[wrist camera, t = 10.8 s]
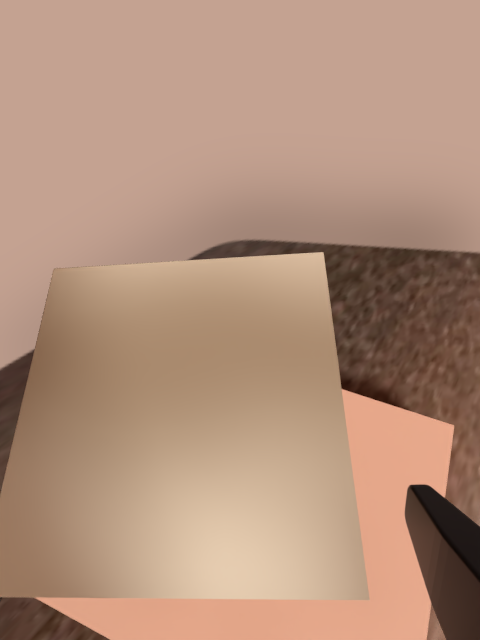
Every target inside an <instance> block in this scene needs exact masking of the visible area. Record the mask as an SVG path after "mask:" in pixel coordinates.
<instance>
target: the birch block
mask: <svg viewBox="0 0 480 640" xmlns="http://www.w3.org/2000/svg"><path fill="white" fill-rule="evenodd" d="M0 597H44V598H158V599H273V600H370V599H369V591H368V584H367V576H366V569H365V561H364V554H363V546H362V539H361V531H360V524H359V516H358V509H357V501H356V494H355V486H354V479H353V471H352V464H351V456H350V449H349V441H348V434H347V426H346V419H345V411H344V404H343V396H342V389H341V381H340V374H339V366H338V359H337V351H336V344H335V336H334V329H333V321H332V314H331V306H330V299H329V291H328V284H327V276H326V269H325V261H324V254H323V252H320V253H303V254H287V255H270V256H254V257H237V258H221V259H204V260H188V261H172V262H156V263H140V264H123V265H106V266H89V267H74V268H57V269H54V270H53V274H52V278H51V283H50V287H49V291H48V295H47V299H46V304H45V308H44V312H43V316H42V321H41V325H40V329H39V333H38V338H37V342H36V346H35V350H34V355H33V359H32V363H31V367H30V371H29V376H28V380H27V384H26V388H25V393H24V397H23V401H22V405H21V410H20V414H19V418H18V422H17V426H16V431H15V435H14V439H13V443H12V448H11V452H10V456H9V460H8V465H7V469H6V473H5V477H4V482H3V486H2V490H1V494H0Z"/></svg>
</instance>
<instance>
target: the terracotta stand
mask: <svg viewBox="0 0 480 640" xmlns="http://www.w3.org/2000/svg"><path fill="white" fill-rule="evenodd" d="M342 396H343V404H344V411H345V419H346V426H347V434H348V441H349V449H350V456H351V464H352V471H353V479H354V486H355V494H356V501H357V509H358V516H359V524H360V531H361V539H362V546H363V554H364V561H365V569H366V576H367V584H368V591H369V599H370V600H273V599H158V598H44V597H35V598H36V599H38V600H40V601H42V602H44V603H45V604H47V605H49V606H51V607H53V608H54V609H56V610H58V611H60V612H62V613H63V614H65V615H67V616H69V617H71V618H72V619H74V620H76V621H78V622H80V623H81V624H83V625H85V626H87V627H89V628H90V629H92V630H94V631H96V632H98V633H99V634H101V635H103V636H105V637H107V638H108V639H110V640H426V639H427V631H428V624H429V616H430V608H431V601H430V598H429V595H428V592H427V589H426V586H425V582H424V579H423V576H422V573H421V569H420V566H419V563H418V560H417V557H416V553H415V550H414V547H413V544H412V541H411V537H410V534H409V531H408V528H407V524H406V520H405V504H406V496H407V489H408V487H409V485H416V484H426V485H429V486H431V487H432V488H433V489H434V490H436V491H437V492H438V493H439V494H441V495H442V496H443V497H444V498H445V493H446V485H447V477H448V470H449V462H450V454H451V447H452V439H453V431H454V425H451V424H448V423H445V422H442V421H438V420H435V419H432V418H429V417H426V416H423V415H420V414H417V413H414V412H411V411H408V410H405V409H402V408H398V407H395V406H392V405H389V404H386V403H383V402H380V401H377V400H374V399H371V398H368V397H365V396H362V395H358V394H355V393H352V392H349V391H346V390H343V389H342Z"/></svg>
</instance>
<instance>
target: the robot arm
mask: <svg viewBox="0 0 480 640" xmlns="http://www.w3.org/2000/svg"><path fill="white" fill-rule="evenodd" d="M405 520H406V524H407V528H408V531H409V534H410V537H411V541H412V544H413V547H414V550H415V553H416V557H417V560H418V563H419V566H420V569H421V573H422V576H423V579H424V582H425V586H426V589H427V592H428V595H429V598H430V601H431V603H432V606H433V608H434V611H435V614H436V616H437V618H438V621H439V623H440V626H441V628H442V630H443V633H444V635H445V638H446V640H480V526H478V525H477V524H476V523H475V522H473V521H472V520H471V519H470V518H469V517H467V516H466V515H465V514H464V513H462V512H461V511H460V510H459V509H458V508H456V507H455V506H454V505H453V504H451V503H450V502H449V501H448V500H447V499H445V498H444V497H443V496H442V495H441V494H439V493H438V492H437V491H436V490H434V489H433V488H432V487H431V486H429V485H426V484H416V485H409V487H408V489H407V496H406V504H405ZM1 599H2V597H0V601H1Z"/></svg>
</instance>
